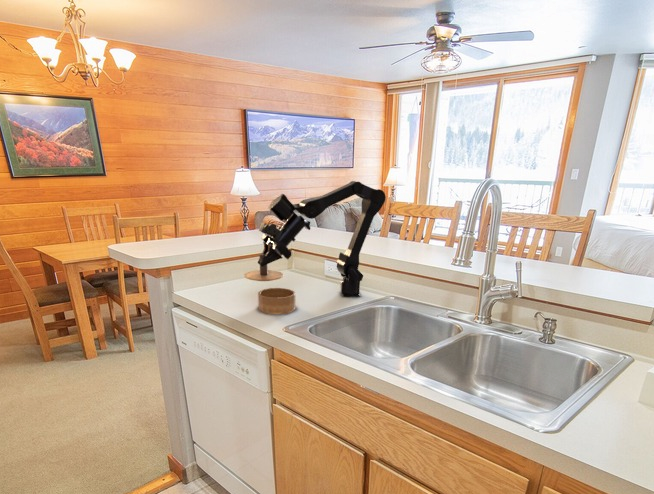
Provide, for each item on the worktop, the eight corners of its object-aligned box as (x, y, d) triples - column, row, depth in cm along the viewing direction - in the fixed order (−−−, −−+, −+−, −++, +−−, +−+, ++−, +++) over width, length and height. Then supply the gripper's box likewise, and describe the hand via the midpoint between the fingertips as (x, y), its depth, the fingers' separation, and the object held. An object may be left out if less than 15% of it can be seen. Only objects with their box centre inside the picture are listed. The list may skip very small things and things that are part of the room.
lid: (276, 271, 161) (276, 249, 157) (288, 280, 149) (287, 257, 146) (240, 274, 156) (239, 251, 153) (249, 284, 145) (248, 259, 141)
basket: (282, 300, 158) (282, 286, 156) (302, 310, 149) (302, 294, 147) (252, 306, 151) (251, 291, 149) (270, 316, 142) (270, 300, 140)
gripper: (265, 210, 153) (236, 243, 154) (281, 216, 137) (248, 254, 138) (287, 232, 159) (259, 264, 160) (305, 241, 143) (273, 276, 144)
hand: (259, 264), depth 150 cm, fingers closed on lid, 2 cm apart
